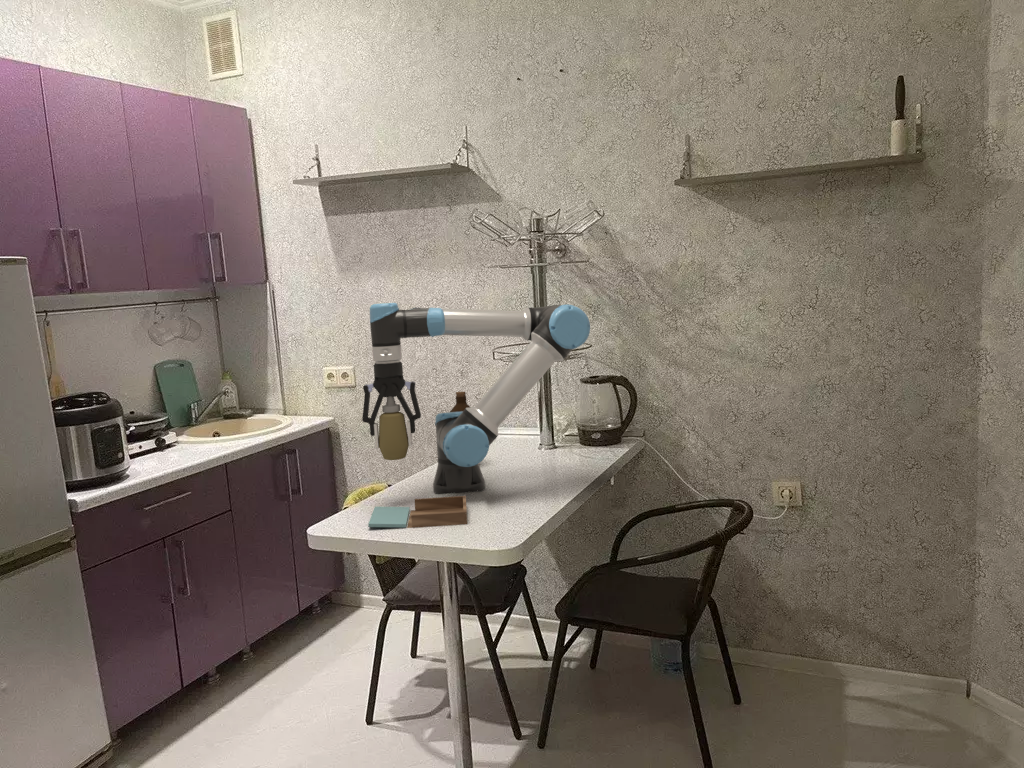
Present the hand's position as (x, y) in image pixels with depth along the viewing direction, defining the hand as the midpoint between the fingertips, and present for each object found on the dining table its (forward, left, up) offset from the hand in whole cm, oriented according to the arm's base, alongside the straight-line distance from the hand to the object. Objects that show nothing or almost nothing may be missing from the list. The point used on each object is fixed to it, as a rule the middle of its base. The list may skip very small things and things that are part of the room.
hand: (394, 446), depth 204 cm
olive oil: (-45, +19, -17) cm, 52 cm away
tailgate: (+14, +4, -16) cm, 22 cm away
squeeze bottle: (0, 0, -4) cm, 4 cm away
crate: (+14, +11, -17) cm, 25 cm away
